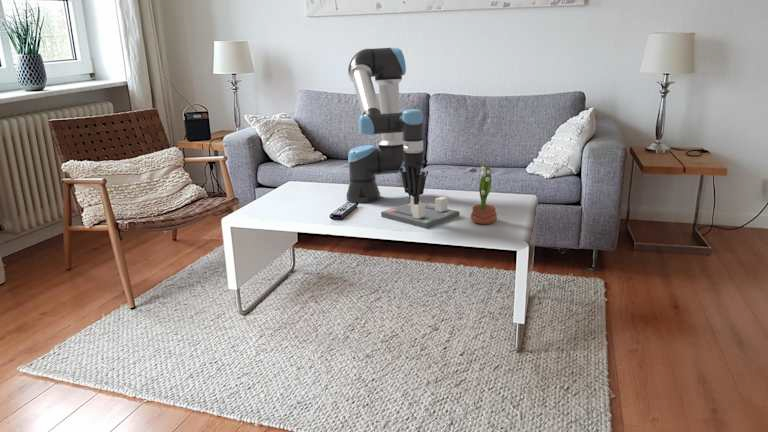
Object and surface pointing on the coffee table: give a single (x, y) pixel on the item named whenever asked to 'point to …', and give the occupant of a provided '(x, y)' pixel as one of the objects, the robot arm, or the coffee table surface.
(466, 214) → the coffee table surface
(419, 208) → the switch knob
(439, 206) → the switch knob
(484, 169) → the potted flower
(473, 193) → the coffee table surface
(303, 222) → the coffee table surface
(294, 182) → the coffee table surface
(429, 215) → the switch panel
